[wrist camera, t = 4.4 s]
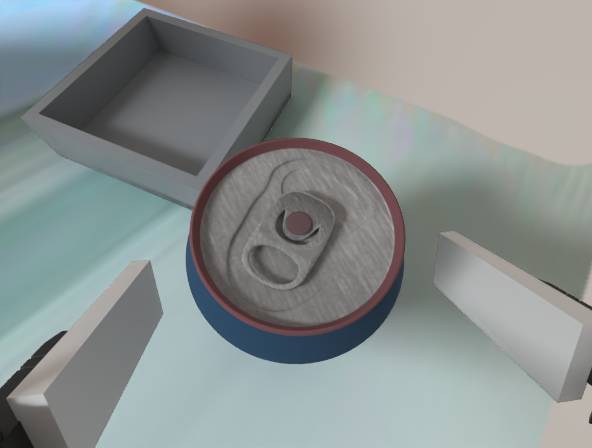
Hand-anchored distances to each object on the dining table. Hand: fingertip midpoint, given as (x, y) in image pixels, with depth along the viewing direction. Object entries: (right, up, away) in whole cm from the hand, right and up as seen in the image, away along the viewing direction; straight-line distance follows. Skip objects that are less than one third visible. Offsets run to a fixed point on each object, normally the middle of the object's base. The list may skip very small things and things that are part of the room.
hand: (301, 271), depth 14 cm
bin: (-10, +11, +11) cm, 18 cm away
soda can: (-1, -3, +5) cm, 6 cm away
